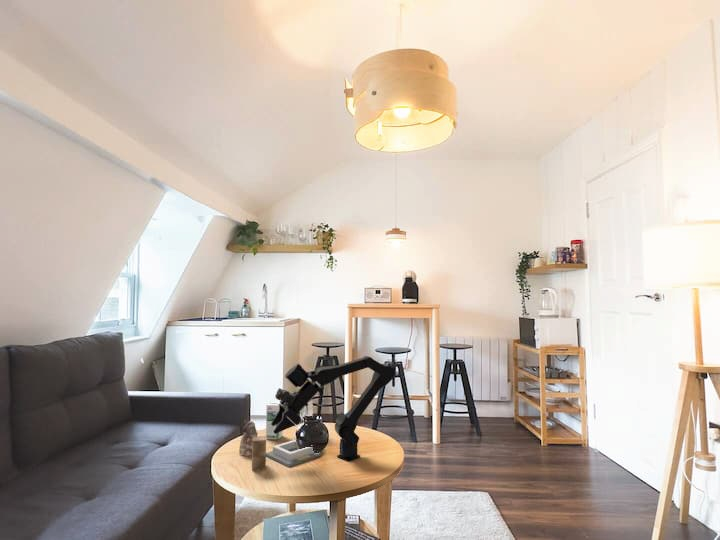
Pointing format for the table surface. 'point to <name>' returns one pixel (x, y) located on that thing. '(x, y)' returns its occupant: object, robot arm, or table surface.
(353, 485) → the table surface
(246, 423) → the figurine
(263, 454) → the walnut peg block
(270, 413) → the syrup box
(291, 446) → the socket board
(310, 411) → the beer glass
